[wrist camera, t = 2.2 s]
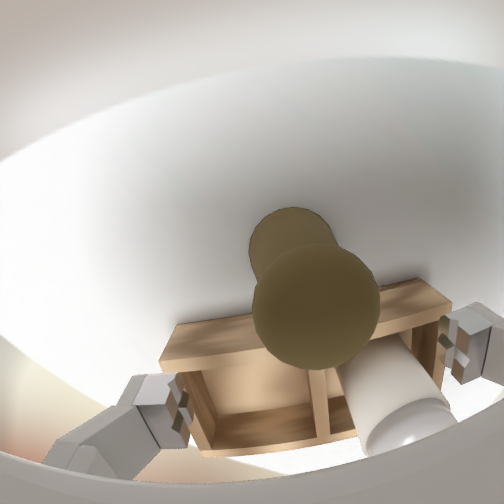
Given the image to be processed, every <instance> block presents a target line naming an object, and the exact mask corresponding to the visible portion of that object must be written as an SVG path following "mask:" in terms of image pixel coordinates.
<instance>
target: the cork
mask: <svg viewBox="0 0 504 504" xmlns="http://www.w3.org/2000/svg"><path fill="white" fill-rule="evenodd" d="M249 257H250V262H251V266H252V269H253V271H254V274H255V276H256V279H257V281H258V283H257V285H256V287H255V291H254V299H253V306H252V316H253V321H254V326H255V330H256V333H257V334H258V336H259V338H260V339H261V341H262V343H263V344H264V346H265V347H266V349H267V350H268V352H270V353H271V354H272V355H273V356H275V357H276V358H277V359H278V360H280V361H281V362H283V363H286V364H289V365H291V366H294V367H297V368H300V369H304V370H323V369H328V368H333V367H336V366H338V365H340V364H343V363H345V362H347V361H349V360H351V359H352V358H353V357H354V356H355V355H357V354H358V353H359V352H360V351H361V350H362V349H363V348H364V347H365V346H366V344H367V343H368V341H369V340H370V338H371V337H372V335H373V334H374V331H375V329H376V326H377V323H378V319H379V316H380V293H379V290H378V287H377V285H376V282H375V280H374V277H373V275H372V272H371V271H370V270H369V269H368V268H367V267H366V265H365V264H364V263H363V262H362V261H361V260H360V259H359V258H358V257H357V256H356V255H354V254H353V253H351V252H349V251H347V250H345V249H343V248H341V247H339V246H338V244H337V242H336V240H335V238H334V235H333V233H332V231H331V229H330V227H329V225H328V224H327V223H326V222H325V221H324V220H323V219H322V218H321V217H320V216H319V215H317V214H315V213H313V212H312V211H310V210H308V209H303V208H296V207H290V208H284V209H279V210H277V211H275V212H273V213H271V214H269V215H267V216H266V217H265V218H264V219H263V220H262V221H261V222H260V223H259V224H258V225H257V226H256V228H255V230H254V232H253V234H252V236H251V238H250V245H249Z"/></svg>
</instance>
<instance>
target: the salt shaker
mask: <svg viewBox="0 0 504 504" xmlns="http://www.w3.org/2000/svg"><path fill="white" fill-rule="evenodd" d="M335 370H336V373H337V376H338V379H339V382H340V384H341V387H342V390H343V393H344V396H345V399H346V402H347V404H348V407H349V410H350V413H351V416H352V419H353V422H354V425H355V428H356V431H357V434H358V437H359V440H360V443H361V446H362V449H363V452H364V454H365V455H366V456H367V457H371V456H374V455H378V454H381V453H384V452H387V451H390V450H393V449H396V448H399V447H401V446H404V445H407V444H410V443H412V442H415V441H417V440H420V439H422V438H425V437H427V436H430V435H432V434H435V433H437V432H439V431H441V430H444V429H446V428H448V427H450V426H452V425H455V424H457V423H458V422H457V420H456V419H455V417H454V416H453V414H452V413H451V411H450V404H449V402H448V401H447V399H446V398H445V397H444V395H443V394H442V392H441V391H440V390H439V388H438V387H437V385H436V384H435V383H434V381H433V380H432V379H431V377H430V376H429V375H428V373H427V372H426V370H425V369H424V368H423V366H422V365H421V364H420V362H419V361H418V360H417V358H416V357H415V356H414V355H413V353H412V352H411V351H410V349H409V348H408V347H407V345H406V344H405V343H404V341H403V340H402V339H401V338H400V336H399V335H398V334H397V333H394V334H390V335H387V336H383V337H379V338H375V339H372V340H369V341H368V343H367V344H366V346H365V347H364V348H363V349H362V350H361V351H360V352H359V353H358V354H357V355H355V356H354V357H353V358H352V359H351V360H349V361H347V362H345V363H343V364H340V365H338V366H336V367H335Z"/></svg>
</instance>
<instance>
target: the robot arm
mask: <svg viewBox="0 0 504 504" xmlns="http://www.w3.org/2000/svg"><path fill="white" fill-rule="evenodd" d="M438 329H439V330H440V332H441V335H440V336H439V338H438V340H437V354H438V358H439V360H440V362H441V363H442V364H443V365H444V366H445V367H448V368H452V370H451V374H452V375H453V376H454V377H455V379H456V380H457V381H458V382H459V383H460V384H461V385H462V384H465V383H467V382H469V381H472V380H474V379H476V378H478V377H480V376H482V377H483V378H485V379H487V380H490V381H492V382H495V383H497V384H500V385H502V386H504V318H502V317H501V316H499V315H497V314H496V313H494V312H493V311H491V310H490V309H488V308H487V307H485V306H484V305H482V304H481V303H477V302H475V303H473V304H470V305H468V306H466V307H464V308H461V309H459V310H456V311H453V312H451V313H448V314H446V315H443V316H441V317H440V319H439V324H438ZM184 386H185V382H184V379H183V377H182V375H181V374H180V373H179V372H174V373H160V374H142V375H134V376H132V377H131V379H130V381H129V383H128V385H127V387H126V388H125V390H124V392H123V394H122V396H121V397H120V399H119V401H118V403H117V405H116V406H111V407H109V408H107V409H106V410H104V411H103V412H101V413H100V414H98V415H97V416H95V417H93V418H92V419H90V420H88V421H87V422H85V423H84V424H82V425H81V426H79V427H77V428H75V429H74V430H72V431H70V432H69V433H68V434H66V435H64V436H62V437H61V438H59V439H57V440H56V441H55V443H54V445H53V446H52V448H51V449H50V451H49V452H48V454H47V456H46V457H45V459H44V460H43V462H42V464H40V463H37V462H33V461H30V460H27V459H23V458H20V457H17V456H14V455H11V454H8V453H5V452H2V451H0V504H504V398H503V399H502V400H500V401H498V402H496V403H495V404H493V405H491V406H489V407H488V408H486V409H484V410H482V411H480V412H479V413H477V414H475V415H473V416H471V417H469V418H467V419H465V420H463V421H461V422H459V423H457V424H455V425H452V426H450V427H448V428H446V429H444V430H441V431H439V432H437V433H435V434H432V435H430V436H427V437H425V438H422V439H420V440H417V441H415V442H412V443H410V444H407V445H404V446H401V447H399V448H396V449H393V450H390V451H387V452H384V453H381V454H378V455H374V456H371V457H368V458H364V459H361V460H357V461H354V462H350V463H346V464H342V465H338V466H334V467H330V468H325V469H320V470H316V471H311V472H305V473H300V474H294V475H288V476H281V477H275V478H267V479H258V480H248V481H237V482H221V483H220V482H219V483H163V482H146V481H135V480H134V481H133V480H132V479H133V478H134V477H135V476H136V475H137V474H138V473H139V472H140V471H141V470H142V469H143V468H144V467H145V466H146V465H147V464H148V463H149V462H150V461H151V460H152V459H153V458H154V457H155V456H156V455H157V454H158V453H159V452H160V449H182V448H187V447H188V442H189V438H190V430H189V428H188V426H190V425H191V424H192V423H193V419H194V407H193V403H192V399H191V397H190V394H188V393H187V392H186V391H184V390H183V389H184Z"/></svg>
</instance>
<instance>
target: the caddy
mask: <svg viewBox="0 0 504 504" xmlns="http://www.w3.org/2000/svg"><path fill="white" fill-rule="evenodd" d="M378 290H379V293H380V316H379V319H378V323H377V326H376V329H375V331H374V334H373V335H372V337H371V338H370V340H372V339H375V338H379V337H383V336H387V335H390V334H394V333H397V334H398V335H399V336H400V338H401V339H402V340H403V341H404V343H405V344H406V345H407V347H408V348H409V349H410V351H411V352H412V353H413V355H414V356H415V357H416V358H417V360H418V361H419V362H420V364H421V365H422V366H423V368H424V369H425V370H426V372H427V373H428V375H429V376H430V377H431V379H432V380H433V381H434V383H435V384H436V385H437V387H438V388H439V390H440V391H441V386H442V381H443V375H444V369H445V366H444V365H443V364H442V363H441V362H440V360H439V358H438V354H437V340H438V338H439V336H440V335H441V332H440V330H439V329H438V324H439V319H440V317H441V316H443V315H446V314H448V313H451V309H452V302H451V301H450V300H448V299H447V298H446V297H444V296H443V295H442V294H440V293H439V292H438V291H436V290H435V289H434V288H432V287H431V286H430V285H428V284H427V283H426V282H424V281H423V280H422V279H420V278H415V279H411V280H407V281H403V282H399V283H395V284H391V285H387V286H383V287H379V288H378ZM159 364H160V366H161V369H162V371H163V373H174V372H179V373H180V374H181V375H182V377H183V379H184V382H185V386H184V389H183V390H184V391H186V392H187V393H188V394H190V397H191V399H192V403H193V407H194V419H193V423H192V424H191V425H190V426H188V428H189V430H190V433H191V435H192V437H193V439H194V440H195V442H196V444H197V446H198V448H199V450H200V452H201V454H202V455H203V457H204V458H212V457H231V456H244V455H255V454H264V453H272V452H280V451H287V450H294V449H300V448H305V447H311V446H316V445H321V444H326V443H331V442H336V441H340V440H344V439H349V438H353V437H357V436H358V434H357V431H356V428H355V425H354V422H353V419H352V416H351V413H350V410H349V407H348V404H347V402H346V399H345V396H344V393H343V390H342V387H341V384H340V382H339V379H338V376H337V373H336V370H335V367H333V368H328V369H323V370H304V369H300V368H297V367H294V366H291V365H289V364H286V363H283V362H281V361H280V360H278V359H277V358H276V357H275V356H273V355H272V354H271V353H270V352H268V350H267V349H266V347H265V346H264V344H263V343H262V341H261V339H260V338H259V336H258V334H257V333H256V330H255V326H254V321H253V316H252V313H251V314H245V315H239V316H233V317H227V318H221V319H214V320H208V321H201V322H194V323H187V324H180V325H176V327H175V329H174V331H173V333H172V335H171V337H170V339H169V341H168V343H167V345H166V347H165V349H164V351H163V353H162V355H161V357H160V359H159Z"/></svg>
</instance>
